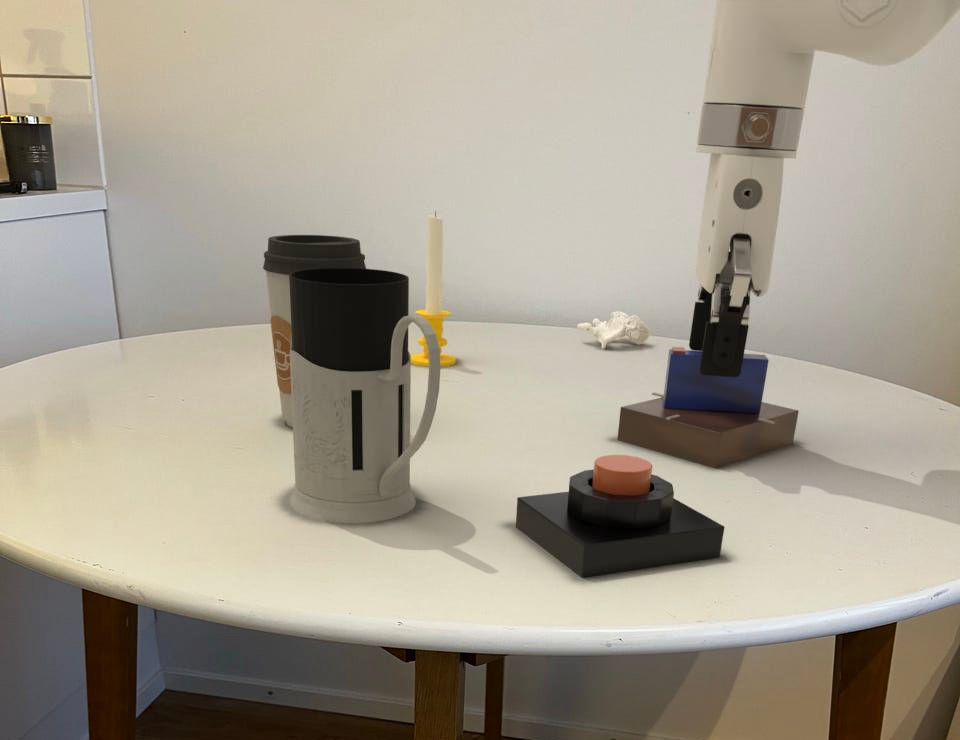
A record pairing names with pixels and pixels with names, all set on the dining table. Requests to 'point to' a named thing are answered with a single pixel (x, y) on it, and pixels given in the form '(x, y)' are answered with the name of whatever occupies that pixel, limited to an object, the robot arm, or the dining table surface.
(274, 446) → the dining table surface
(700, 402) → the blue battery-like brick
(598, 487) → the button
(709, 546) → the button box
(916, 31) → the robot arm
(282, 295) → the coffee cup
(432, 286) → the candle
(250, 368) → the dining table surface
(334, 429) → the glass holder
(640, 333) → the vertebra bone
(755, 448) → the brown flat base
